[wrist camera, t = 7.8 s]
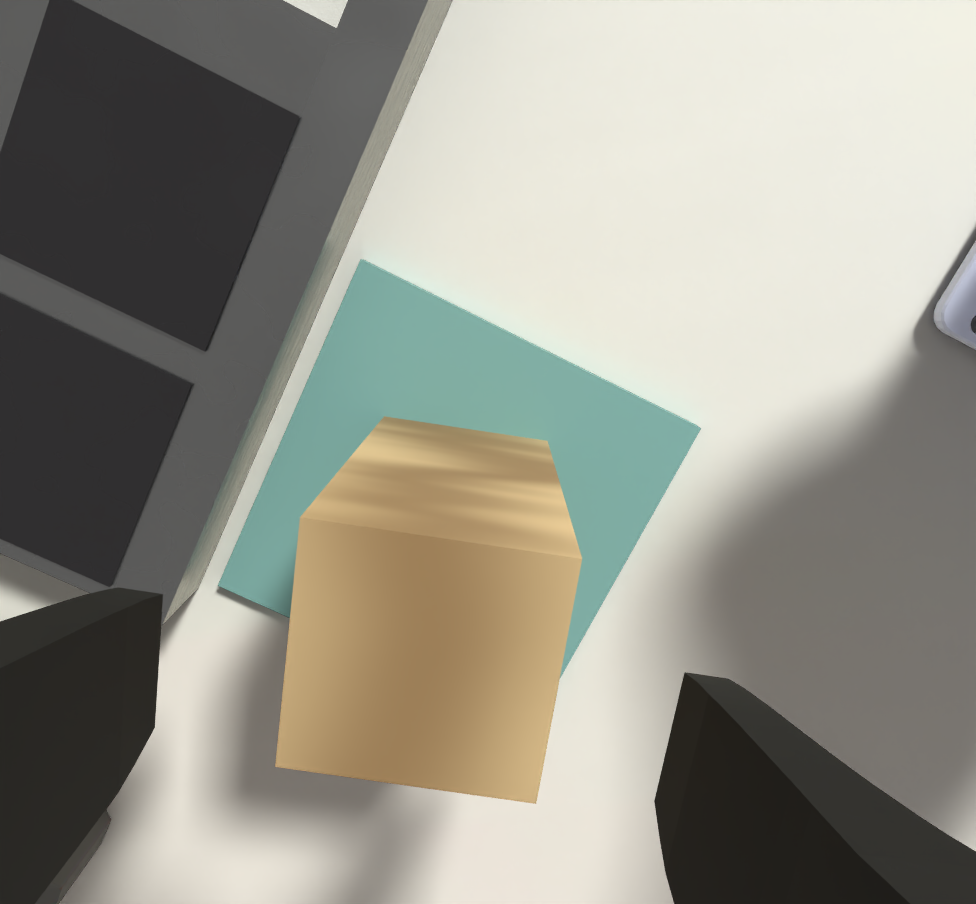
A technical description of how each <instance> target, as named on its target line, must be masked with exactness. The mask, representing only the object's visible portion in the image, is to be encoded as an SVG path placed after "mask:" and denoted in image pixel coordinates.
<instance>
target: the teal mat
mask: <svg viewBox="0 0 976 904" xmlns="http://www.w3.org/2000/svg"><path fill="white" fill-rule="evenodd" d="M384 416H386V417H392V418H399V419H406V420H412V421H419V422H425V423H432V424H439V425H445V426H452V427H459V428H465V429H472V430H479V431H485V432H492V433H499V434H505V435H512V436H519V437H525V438H532V439H539V440H545V441H548V444H549V448H550V451H551V454H552V458H553V461H554V465H555V468H556V471H557V475H558V478H559V482H560V485H561V488H562V492H563V495H564V499H565V502H566V505H567V509H568V512H569V516H570V519H571V522H572V526H573V529H574V533H575V536H576V539H577V543H578V546H579V550H580V553H581V556H582V563H581V568H580V573H579V579H578V584H577V589H576V594H575V600H574V605H573V610H572V616H571V621H570V626H569V632H568V637H567V642H566V648H565V653H564V658H563V663H562V669H561V674H560V678H561V676H562V674H563V672H564V670H565V669H566V667H567V665H568V663H569V662H570V660H571V658H572V656H573V655H574V653H575V651H576V649H577V647H578V646H579V644H580V642H581V640H582V639H583V637H584V635H585V633H586V631H587V630H588V628H589V626H590V624H591V623H592V621H593V619H594V617H595V616H596V614H597V612H598V610H599V608H600V607H601V605H602V603H603V601H604V600H605V598H606V596H607V594H608V593H609V591H610V589H611V587H612V585H613V584H614V582H615V580H616V578H617V577H618V575H619V573H620V571H621V569H622V568H623V566H624V564H625V562H626V561H627V559H628V557H629V555H630V554H631V552H632V550H633V548H634V546H635V545H636V543H637V541H638V539H639V538H640V536H641V534H642V532H643V531H644V529H645V527H646V525H647V523H648V522H649V520H650V518H651V516H652V515H653V513H654V511H655V509H656V507H657V506H658V504H659V502H660V500H661V499H662V497H663V495H664V493H665V492H666V490H667V488H668V486H669V484H670V483H671V481H672V479H673V477H674V476H675V474H676V472H677V470H678V469H679V467H680V465H681V463H682V461H683V460H684V458H685V456H686V454H687V453H688V451H689V449H690V447H691V445H692V444H693V442H694V440H695V438H696V437H697V435H698V433H699V431H700V430H701V428H700V427H698V426H697V425H695V424H693V423H691V422H689V421H687V420H685V419H683V418H681V417H679V416H677V415H675V414H673V413H671V412H669V411H667V410H665V409H663V408H661V407H659V406H657V405H655V404H653V403H651V402H649V401H647V400H645V399H643V398H641V397H639V396H637V395H635V394H633V393H631V392H629V391H627V390H625V389H623V388H621V387H619V386H617V385H615V384H613V383H611V382H609V381H607V380H605V379H603V378H601V377H599V376H597V375H595V374H593V373H591V372H589V371H587V370H585V369H583V368H581V367H579V366H577V365H575V364H572V363H570V362H568V361H566V360H564V359H562V358H560V357H558V356H556V355H554V354H552V353H550V352H548V351H546V350H544V349H542V348H540V347H538V346H536V345H534V344H532V343H530V342H528V341H526V340H524V339H522V338H520V337H518V336H516V335H514V334H512V333H510V332H508V331H506V330H504V329H502V328H500V327H498V326H496V325H494V324H492V323H490V322H488V321H486V320H484V319H482V318H480V317H478V316H476V315H474V314H472V313H470V312H468V311H466V310H464V309H462V308H460V307H458V306H456V305H454V304H452V303H450V302H448V301H446V300H444V299H442V298H440V297H438V296H436V295H434V294H432V293H430V292H428V291H426V290H424V289H422V288H420V287H418V286H416V285H414V284H412V283H409V282H407V281H405V280H403V279H401V278H399V277H397V276H395V275H393V274H391V273H389V272H387V271H385V270H383V269H381V268H379V267H377V266H375V265H373V264H371V263H369V262H367V261H365V260H362V259H361V260H360V262H359V264H358V267H357V269H356V271H355V274H354V276H353V278H352V280H351V283H350V285H349V287H348V290H347V292H346V294H345V296H344V299H343V301H342V303H341V306H340V308H339V310H338V312H337V315H336V317H335V319H334V322H333V324H332V326H331V328H330V331H329V333H328V335H327V338H326V340H325V342H324V344H323V347H322V349H321V351H320V353H319V356H318V358H317V360H316V363H315V365H314V367H313V369H312V372H311V374H310V376H309V379H308V381H307V383H306V385H305V388H304V390H303V392H302V395H301V397H300V399H299V401H298V404H297V406H296V408H295V411H294V413H293V415H292V417H291V420H290V422H289V424H288V427H287V429H286V431H285V433H284V436H283V438H282V440H281V443H280V445H279V447H278V449H277V452H276V454H275V456H274V459H273V461H272V463H271V465H270V468H269V470H268V472H267V475H266V477H265V479H264V481H263V484H262V486H261V488H260V490H259V493H258V495H257V497H256V500H255V502H254V504H253V506H252V509H251V511H250V513H249V516H248V518H247V520H246V522H245V525H244V527H243V529H242V532H241V534H240V536H239V538H238V541H237V543H236V545H235V548H234V550H233V552H232V554H231V557H230V559H229V561H228V564H227V566H226V568H225V570H224V573H223V575H222V577H221V580H220V582H219V584H218V586H220V587H222V588H224V589H226V590H229V591H231V592H233V593H235V594H237V595H240V596H242V597H244V598H246V599H249V600H251V601H253V602H255V603H257V604H260V605H262V606H264V607H266V608H269V609H271V610H273V611H275V612H277V613H280V614H282V615H284V616H286V617H289V618H290V613H291V603H292V593H293V583H294V572H295V562H296V552H297V542H298V532H299V522H300V517H301V515H302V514H303V513H304V512H305V511H306V509H307V508H308V507H309V506H310V505H311V503H312V502H313V501H314V500H315V499H316V497H317V496H318V495H319V494H320V493H321V491H322V490H323V489H324V488H325V487H326V485H327V484H328V483H329V482H330V481H331V479H332V478H333V477H334V476H335V475H336V473H337V472H338V471H339V470H340V469H341V467H342V466H343V465H344V464H345V463H346V461H347V460H348V459H349V458H350V457H351V455H352V454H353V453H354V452H355V451H356V449H357V448H358V447H359V446H360V445H361V443H362V442H363V441H364V440H365V439H366V437H367V436H368V435H369V434H370V433H371V431H372V430H373V429H374V428H375V427H376V425H377V424H378V423H379V422H380V421H381V419H382V418H383V417H384Z"/></svg>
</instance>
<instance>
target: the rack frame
mask: <svg viewBox="0 0 976 904" xmlns="http://www.w3.org/2000/svg"><path fill="white" fill-rule="evenodd" d="M451 2H452V0H348V2H347V4H346V7H345V9H344V12H343V14H342V17H341V19H340V22H339V24H338V27H337V28H335V27H333V26H331V25H329V24H327V23H325V22H323V21H321V20H319V19H317V18H316V17H314V16H312V15H310V14H308V13H306V12H304V11H302V10H300V9H298V8H296V7H295V6H293V5H291V4H289V3H287V2H285V1H283V0H0V554H3V555H5V556H7V557H10V558H12V559H14V560H16V561H19V562H21V563H23V564H25V565H28V566H30V567H32V568H34V569H37V570H39V571H41V572H43V573H46V574H48V575H50V576H53V577H55V578H57V579H59V580H62V581H64V582H66V583H68V584H71V585H73V586H75V587H77V588H80V589H82V590H84V591H86V592H89V593H94V592H98V591H102V590H107V589H112V588H118V587H119V588H126V589H133V590H139V591H146V592H153V593H159V594H163V603H162V619H161V625H163V624H164V623H165V622H166V621H167V620H168V619H169V618H170V617H171V616H172V615H173V614H174V612H175V611H176V610H177V609H178V608H179V607H180V606H181V605H182V604H183V603H184V602H185V601H186V600H187V599H188V598H189V597H190V596H191V595H192V594H193V593H194V592H195V591H196V590H197V589H198V588H199V585H200V583H201V581H202V579H203V576H204V574H205V572H206V569H207V567H208V565H209V562H210V560H211V558H212V555H213V553H214V551H215V548H216V546H217V544H218V542H219V539H220V537H221V535H222V532H223V530H224V528H225V525H226V523H227V521H228V518H229V516H230V514H231V511H232V509H233V507H234V504H235V502H236V500H237V498H238V495H239V493H240V491H241V488H242V486H243V484H244V481H245V479H246V477H247V474H248V472H249V470H250V467H251V465H252V463H253V460H254V458H255V456H256V454H257V451H258V449H259V447H260V444H261V442H262V440H263V437H264V435H265V433H266V430H267V428H268V426H269V423H270V421H271V419H272V417H273V414H274V412H275V410H276V407H277V405H278V403H279V400H280V398H281V396H282V393H283V391H284V389H285V386H286V384H287V382H288V379H289V377H290V375H291V373H292V370H293V368H294V366H295V363H296V361H297V359H298V356H299V354H300V352H301V349H302V347H303V345H304V342H305V340H306V338H307V336H308V333H309V331H310V329H311V326H312V324H313V322H314V319H315V317H316V315H317V312H318V310H319V308H320V305H321V303H322V301H323V298H324V296H325V294H326V292H327V289H328V287H329V285H330V282H331V280H332V278H333V275H334V273H335V271H336V268H337V266H338V264H339V261H340V259H341V257H342V255H343V252H344V250H345V248H346V245H347V243H348V241H349V238H350V236H351V234H352V231H353V229H354V227H355V224H356V222H357V220H358V217H359V215H360V213H361V211H362V208H363V206H364V204H365V201H366V199H367V197H368V194H369V192H370V190H371V187H372V185H373V183H374V180H375V178H376V176H377V173H378V171H379V169H380V167H381V164H382V162H383V160H384V157H385V155H386V153H387V150H388V148H389V146H390V143H391V141H392V139H393V136H394V134H395V132H396V130H397V127H398V125H399V123H400V120H401V118H402V116H403V113H404V111H405V109H406V106H407V104H408V102H409V99H410V97H411V95H412V92H413V90H414V88H415V86H416V83H417V81H418V79H419V76H420V74H421V72H422V69H423V67H424V65H425V62H426V60H427V58H428V55H429V53H430V51H431V49H432V46H433V44H434V42H435V39H436V37H437V35H438V32H439V30H440V28H441V25H442V23H443V21H444V18H445V16H446V14H447V11H448V9H449V7H450V5H451Z"/></svg>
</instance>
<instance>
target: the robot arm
mask: <svg viewBox="0 0 976 904" xmlns="http://www.w3.org/2000/svg"><path fill="white" fill-rule="evenodd" d="M975 315H976V241H975V243H974V244H973V246H972V247H971V249H970V251H969V252H968V254H967V256H966V257H965V259H964V261H963V262H962V264H961V265H960V267H959V269H958V270H957V272H956V274H955V275H954V277H953V278H952V280H951V282H950V283H949V285H948V287H947V288H946V290H945V292H944V293H943V295H942V296H941V298H940V300H939V301H938V303H937V305H936V308H935V310H934V322H935V324H936V326H937V328H938V329H939V330H940V331H942V332H943V333H945V334H946V335H948V336H950V337H952V338H954V339H956V340H958V341H960V342H962V343H964V344H965V345H967V346H969V347H971V348H973V349H975V350H976V333H974V332H973V331H972V330H971V325H970V324H971V321H972V318H973V317H974V316H975ZM162 603H163V594H159V593H153V592H146V591H139V590H133V589H126V588H119V587H118V588H112V589H107V590H102V591H98V592H94V593H90V594H87V595H83V596H80V597H76V598H73V599H70V600H66V601H63V602H60V603H57V604H54V605H50V606H47V607H44V608H41V609H38V610H35V611H32V612H29V613H26V614H22V615H19V616H16V617H13V618H10V619H7V620H4V621H1V622H0V904H35V903H36V902H37V900H38V899H39V898H40V896H41V895H42V894H43V892H44V891H45V890H46V888H47V887H48V886H49V885H50V883H51V882H52V881H53V879H54V878H55V877H56V875H57V874H58V873H59V871H60V870H61V869H62V867H63V866H64V865H65V863H66V862H67V861H68V859H69V858H70V857H71V856H72V854H73V853H74V852H75V850H76V849H77V848H78V846H79V845H80V844H81V842H82V841H83V840H84V838H85V837H86V836H87V834H88V833H89V832H90V830H91V829H92V828H93V826H94V825H95V824H96V822H97V821H98V819H99V818H100V817H101V815H102V814H103V813H104V811H105V810H106V809H107V807H108V806H109V805H110V803H111V802H112V800H113V799H114V798H115V796H116V795H117V794H118V792H119V790H120V789H121V787H122V785H123V784H124V782H125V780H126V778H127V777H128V775H129V773H130V772H131V770H132V768H133V766H134V765H135V763H136V761H137V759H138V757H139V756H140V754H141V752H142V750H143V748H144V746H145V745H146V743H147V741H148V739H149V737H150V735H151V733H152V732H153V730H154V728H155V713H156V698H157V682H158V666H159V650H160V635H161V619H162ZM655 808H656V815H657V822H658V829H659V836H660V843H661V849H662V854H663V860H664V866H665V872H666V876H667V879H668V883H669V886H670V890H671V893H672V897H673V900H674V904H976V851H974V850H972V849H971V848H969V847H967V846H966V845H964V844H962V843H961V842H959V841H957V840H956V839H954V838H952V837H951V836H949V835H947V834H946V833H944V832H943V831H941V830H940V829H938V828H936V827H935V826H933V825H932V824H930V823H929V822H927V821H926V820H924V819H922V818H921V817H919V816H918V815H916V814H915V813H914V812H912V811H911V810H909V809H908V808H906V807H905V806H903V805H902V804H900V803H899V802H898V801H896V800H895V799H893V798H892V797H890V796H889V795H887V794H886V793H885V792H883V791H882V790H880V789H879V788H877V787H876V786H874V785H873V784H872V783H870V782H869V781H867V780H866V779H865V778H863V777H862V776H860V775H859V774H858V773H856V772H855V771H854V770H852V769H851V768H849V767H848V766H847V765H845V764H844V763H843V762H841V761H840V760H839V759H837V758H836V757H835V756H833V755H832V754H831V753H829V752H828V751H827V750H825V749H824V748H823V747H821V746H820V745H819V744H818V743H816V742H815V741H814V740H812V739H811V738H810V737H808V736H807V735H806V734H804V733H803V732H802V731H801V730H799V729H798V728H797V727H795V726H794V725H793V724H791V723H790V722H789V721H788V720H786V719H785V718H784V717H782V716H781V715H780V714H778V713H777V712H776V711H774V710H773V709H772V708H771V707H769V706H768V705H767V704H765V703H764V702H762V701H761V700H760V699H758V698H757V697H756V696H754V695H753V694H751V693H750V692H749V691H747V690H746V689H744V688H743V687H741V686H740V685H738V684H736V683H735V682H733V681H731V680H729V679H725V678H719V677H712V676H705V675H699V674H692V673H684V677H683V682H682V686H681V690H680V694H679V699H678V703H677V707H676V711H675V716H674V720H673V724H672V729H671V733H670V737H669V741H668V746H667V750H666V754H665V758H664V763H663V767H662V771H661V776H660V780H659V784H658V788H657V793H656V797H655Z"/></svg>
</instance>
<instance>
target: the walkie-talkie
mask: <svg viewBox="0 0 976 904" xmlns="http://www.w3.org/2000/svg"><path fill="white" fill-rule="evenodd" d="M110 822H111V818H110V816H109V814H108V812H107V811H106V810H105V811H104V813H103V814H102V815H101V817H100V818H99V819H98V821H97V822H96V824H95V825H94V826H93V828H92V829H91V830H90V832H89V833H88V834H87V836H86V837H85V838H84V840H83V841H82V842H81V844H80V845H79V846H78V848H77V849H76V850H75V852H74V853H73V854H72V856H71V857H70V858H69V859H68V861H67V862H66V863H65V865H64V866H63V867H62V869H61V870H60V871H59V873H58V874H57V875H56V877H55V878H54V879H53V881H52V882H51V883H50V885H49V886H48V887H47V888H46V890H45V891H44V892H43V894H42V895H41V896H40V898H39V899H38V900H37V902H36V903H35V904H59V902H60V901H61V900H62V898H63V897H64V895H65V894H66V893H67V891H68V890H69V888H70V887H71V886H72V884H73V883H74V881H75V880H76V878H77V877H78V876H79V874H80V873H81V871H82V870H83V869H84V867H85V866H86V864H87V863H88V862H89V860H90V859H91V857H92V856H93V855H94V853H95V852H96V850H97V849H98V847H99V846H100V845H101V843H102V840H103V838H104V836H105V833H106V831H107V829H108V826H109V824H110Z"/></svg>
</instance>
